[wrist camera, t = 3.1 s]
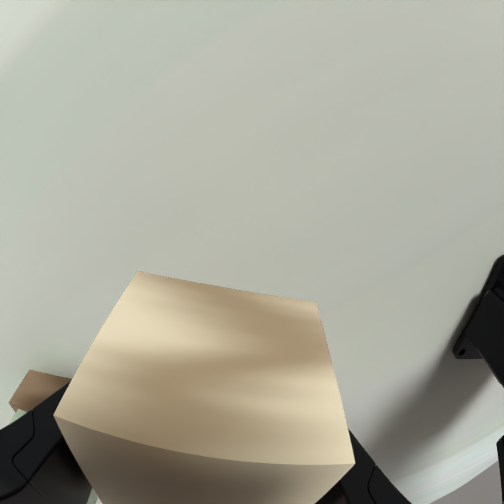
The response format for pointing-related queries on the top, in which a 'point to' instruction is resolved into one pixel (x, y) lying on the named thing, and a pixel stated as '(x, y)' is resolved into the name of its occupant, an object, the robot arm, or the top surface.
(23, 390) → the walnut base block
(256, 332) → the maple cube
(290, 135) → the top surface
